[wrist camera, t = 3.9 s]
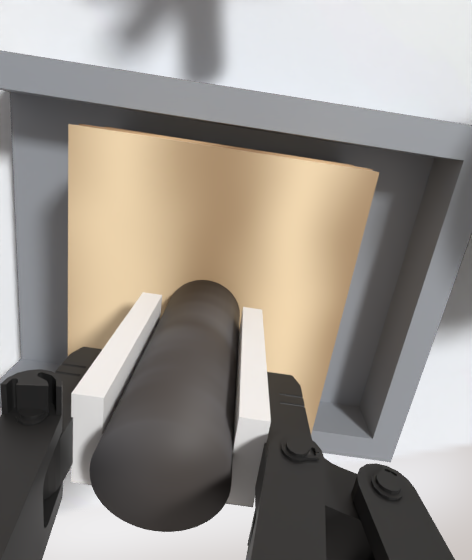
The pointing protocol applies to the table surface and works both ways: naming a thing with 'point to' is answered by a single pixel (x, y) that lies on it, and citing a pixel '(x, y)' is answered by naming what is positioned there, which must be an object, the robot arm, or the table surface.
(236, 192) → the wooden block with peg
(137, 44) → the table surface
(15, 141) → the bay
